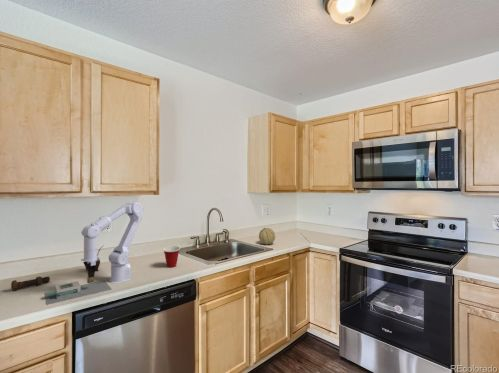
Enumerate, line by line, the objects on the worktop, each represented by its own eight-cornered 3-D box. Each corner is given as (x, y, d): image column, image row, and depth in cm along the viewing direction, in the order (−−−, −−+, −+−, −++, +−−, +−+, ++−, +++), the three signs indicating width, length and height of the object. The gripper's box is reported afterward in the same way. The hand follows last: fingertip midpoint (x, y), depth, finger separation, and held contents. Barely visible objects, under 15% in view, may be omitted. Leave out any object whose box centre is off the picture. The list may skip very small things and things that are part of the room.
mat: (104, 281, 142) (104, 280, 142) (111, 290, 130) (111, 289, 130) (44, 293, 125) (44, 292, 125) (46, 306, 113) (46, 304, 113)
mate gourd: (83, 272, 155) (83, 247, 155) (93, 268, 163) (93, 244, 163) (95, 273, 154) (95, 248, 154) (104, 268, 162) (104, 245, 162)
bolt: (49, 286, 139) (12, 294, 127) (47, 279, 142) (10, 287, 130) (51, 278, 137) (13, 286, 125) (49, 271, 140) (12, 278, 128)
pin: (93, 280, 133) (93, 261, 133) (94, 282, 131) (94, 262, 130) (86, 281, 131) (86, 262, 131) (87, 283, 129) (87, 263, 129)
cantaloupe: (278, 245, 230) (278, 228, 230) (265, 247, 222) (265, 229, 222) (268, 241, 242) (268, 225, 242) (255, 243, 234) (255, 227, 234)
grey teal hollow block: (78, 288, 131) (78, 281, 131) (80, 293, 125) (80, 285, 125) (46, 295, 122) (46, 287, 122) (47, 301, 116) (47, 292, 116)
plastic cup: (160, 269, 163) (160, 250, 163) (165, 263, 174) (165, 245, 173) (177, 269, 163) (178, 250, 163) (181, 263, 174) (182, 246, 174)
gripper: (79, 247, 133) (79, 274, 134) (83, 253, 122) (83, 282, 123) (94, 245, 138) (94, 271, 138) (100, 251, 127) (100, 278, 127)
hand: (90, 276), depth 131 cm, fingers closed on pin, 3 cm apart
